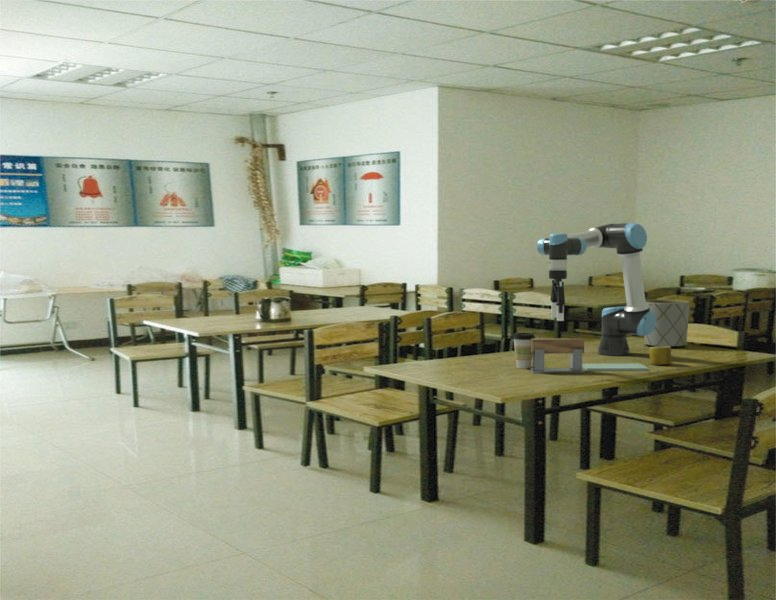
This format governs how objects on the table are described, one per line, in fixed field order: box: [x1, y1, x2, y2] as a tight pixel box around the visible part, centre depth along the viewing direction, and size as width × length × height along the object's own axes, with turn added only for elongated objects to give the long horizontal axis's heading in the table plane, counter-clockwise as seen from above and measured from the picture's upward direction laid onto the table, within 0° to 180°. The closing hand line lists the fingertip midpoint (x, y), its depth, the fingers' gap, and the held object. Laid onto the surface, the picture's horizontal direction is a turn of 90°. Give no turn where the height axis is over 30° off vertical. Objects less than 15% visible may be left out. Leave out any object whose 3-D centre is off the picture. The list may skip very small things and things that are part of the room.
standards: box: [529, 349, 586, 374], centre depth 326 cm, size 8×22×10 cm, turn 87°
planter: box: [644, 299, 690, 348], centre depth 394 cm, size 23×23×24 cm
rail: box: [531, 337, 585, 355], centre depth 325 cm, size 4×22×6 cm, turn 87°
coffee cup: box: [512, 332, 536, 370], centre depth 336 cm, size 10×10×15 cm
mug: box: [648, 346, 672, 366], centre depth 341 cm, size 12×10×10 cm
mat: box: [582, 363, 649, 372], centre depth 332 cm, size 12×26×1 cm, turn 87°
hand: (557, 319), depth 324 cm, fingers open, 13 cm apart
